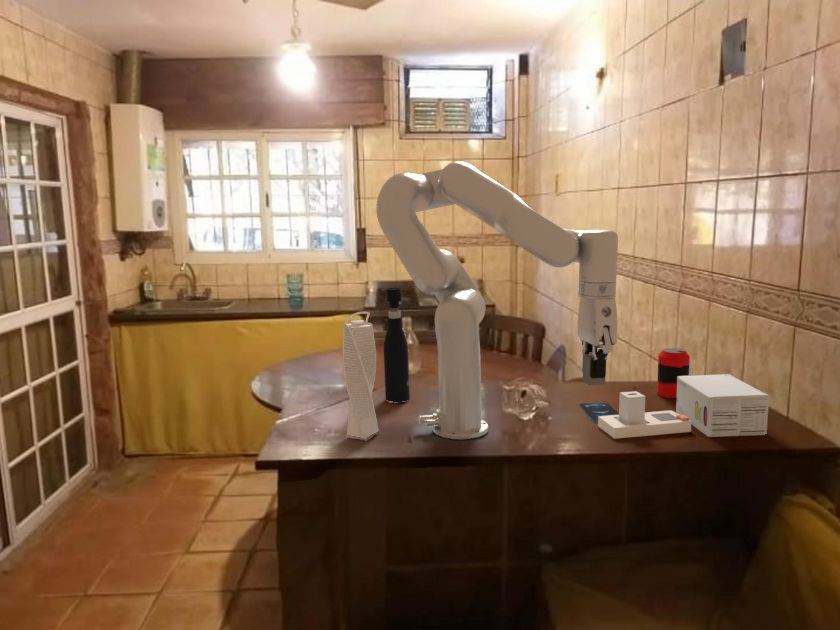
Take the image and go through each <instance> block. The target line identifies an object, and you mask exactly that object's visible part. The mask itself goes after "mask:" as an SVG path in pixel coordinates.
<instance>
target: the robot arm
mask: <svg viewBox="0 0 840 630" xmlns="http://www.w3.org/2000/svg"><path fill="white" fill-rule="evenodd" d="M454 205H456V206H458V207H459V208H461V209H462V210H464V211H466V212H468V213H469V214H471V215H472V216H473V217H476V218H477V219H478V220H480V221H481V222H483V223H485V225H488V226H489V227H490V228H492V229H494V230H495V231H496V232H497V233H499V234H501V235H503V236H504V237H505V238H507V239H509V240H510V241H512V242H513V243H514V244H516V245H517V246H518V247H520V248H521V249H523V250H524V251H526V252H528V253H529V254H531V255H532V256H534V257H536V258H537V259H539V261H541V262H543V263H545V264H547V265H548V266H551V267H554V268H565V267H568V266H569V265H571V264H572V263H578V265H579V266H578V291H577V293H578V294H577V295H578V296H577V297H578V298H579V303H578V315H577V336H578V337H579V340H580V342H581V345H582V350H581V352H582V355H583V354H589V352H593V359H591V368H590V377H591V378H604V377H605V378H606V374H607V371H606V370H607V360H608V355H609V353H611V352H612V351H613V347H612V346H615V345H617V342H618V313H617V302H616V296H617V295H616V294H617V268H618V253H619V252H618V251H619V250H618V249H619V248H618V247H619V246H618V245H619V236H618V233H617V232H616V231H614V230H610V229H588V230H577V229H576V230H575V229H570V228H563V227H560V226H559V225H557V224H556V223H554V222H553V221H550V219H548V218H546V217H544V216H543V215H541V214H540V213H539V212H537V211H535V210H534V209H533V208H531V207H530V206H529V205H528V204H527V203H526V202H525V201H524V200H523V199H522V198H521V197H520V195H517V193H515V192H514V191H512V190H510V189H508V188H507V187H505V186H504V185H502V184H500V183H499V182H497V181H496V180H494V179H492V178H491V177H489V176H488V175H486V174H484V173H483V172H482V171H480V170H479V169H478V168H477V167H475V166H474V165H472V164H471V163H467V162H465V161H459V160H457V161H456V160H455V161H452V162H450V163H448V164H447V165H446V166H444V167H443V168H442V169H441V168H440V169H438V170H433V171H427V172H423V173H418V174H417V173H412V172H399V173H397V174H396V173H395V174H393V176H391V177H389V178H388V179H387V180H386V181H385V182H384V184H383V185H382V187H380V191H379V193H378V197H377V201H376V207H375V210H376V217H377V222H378V224H379V227H380V229H381V231H382V233H383V235H384V237H385V238H386V239H387V241H388V243H389V245H390V246H391V247H392V249H393V251H394V252H395V253H396V255H397V257H398V259H399V261H400V262H401V264H402V265H403V266H404V268H405V270H406V271H407V273H408V275H409V277H411V279H412V281H413V283H414V285H415V286H416V287H417V288H418V289H419V290H420V291H421V292H422V293H424V294H427V295H434V296H435V298H436V299H437V301H438V302H439V304H438V305H437V307H436V309H435V313H434V327H435V328H434V329H435V337H436V346H437V366H438V367H437V368H438V369H437V370H438V373H437V374H438V408H436V410H435V412H434V413H432V414H430V415H429V414H424V415H418V424H420V425H424V424H425V425H426V427H430V426H432V431H433V433H434V434H435V435H436V436H438V435H439V437H442V438H445V439H448V438H450V439H451V440H472V439H476V438H480V437H482V436H484V435H486V434H487V433H488V432H489V425H488V423H487V422H486V421H485V420H483V419H482V390H481V389H482V386H481V385H482V375H481V374H482V368H481V364H482V363H481V345H480V343H481V342H480V331H479V330H480V328H479V327H480V324H481V322H482V321H483V319H484V317H485V315H486V301H485V298H484V297H483V296H482V294H481V293H482V292H480V290H479V289H478V287H477V285H476V284H475V283H474V281H473V279H472V278H471V276H470V275H469V273H468V272H467V270H466V269H465V267H464V266H463V264H462V262H461V261H460V260H459V259H458V258H457V256H455V255H454V253H452V252H451V251H449V250H446V249H441V248H439V247H438V245H437V243H435V241H434V240H433V238H432V237H431V235H430V233H429V231H428V230H427V228H426V227H425V226H424V224H423V223H421V221H420V219H419V218H418V215H417V212H418V213H419V212H424V211H428V210H429V211H430V210H433V209H439V208H443V207H444V208H445V207H447V206H454ZM582 373H583V367H582ZM471 438H472V439H471Z"/></svg>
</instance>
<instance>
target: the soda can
mask: <svg viewBox="0 0 840 630" xmlns="http://www.w3.org/2000/svg"><path fill="white" fill-rule="evenodd" d="M657 356H658V357H657V382H656V383H657V385H656V386H657V388H656V393H657V395H658V396H659V397H661V398H664V397H665V398H664V399H670V398H677V376H690V361H691V359H690V358H691V357H690V355H689V353H688V351H686V349H683V348H676V347H668V348H667V347H666V348H663V349H662V350H661V351H660V352H659V353H658V355H657Z"/></svg>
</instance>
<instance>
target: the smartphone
mask: <svg viewBox="0 0 840 630" xmlns="http://www.w3.org/2000/svg"><path fill="white" fill-rule="evenodd" d="M578 405H579V407H580V408H581V410H583V411H584V413H585V415H587V417H588V418H589V419H590V420H591V421H592V422H593V423H594V424H598V416H610V415H619V411H617V410H616V409H614V408H613V406H612V405H610V403H609V402H608V403H607V402H588V403H587V402H585V403H583V402H582V403H579V404H578Z"/></svg>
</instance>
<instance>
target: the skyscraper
mask: <svg viewBox="0 0 840 630" xmlns="http://www.w3.org/2000/svg"><path fill="white" fill-rule="evenodd" d="M363 314H364V315H365V314H367V315H366V319H365V320H363V319H354V320H353V319H352V320H350V319H351V318H352V317H354V316H357V315H363ZM370 315H371V313H370V312H369V311H367V310H366V311H358V312H354V313H352V314H350V315H349V316H347V318H346V319H345V321H344V322H343V329H342V330H343V332H342V369H343V377H344V382H345V386H346V391H347V394H348V395H347V396H348V399H349V403H348V405H349V407H348V415H347V416H348V418H347V428H346V429H347V430H346V436H347V435H351V436H356V437H361V438H364V439H366V438H367V437H369V436H370V435H372V434H374V433H376V432H378V431H379V424H378V419H377V414H376V410H375V405H374V401H373V396H372V395H373V391H374V386H375V381H376V374H377V373H376V371H377V348H376V347H377V346H376V339H375V332H374V326H373V323H372V322H369V317H370ZM349 320H350V323H348V322H349ZM379 432H380V431H379Z"/></svg>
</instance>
